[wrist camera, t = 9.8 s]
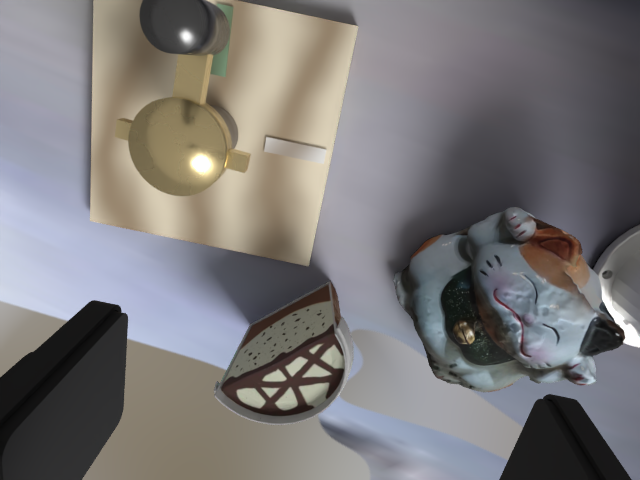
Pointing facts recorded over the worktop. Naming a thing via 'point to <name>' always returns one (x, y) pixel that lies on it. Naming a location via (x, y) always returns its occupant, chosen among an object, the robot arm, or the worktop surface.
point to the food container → (290, 362)
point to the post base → (262, 104)
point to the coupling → (183, 103)
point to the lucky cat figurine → (507, 304)
